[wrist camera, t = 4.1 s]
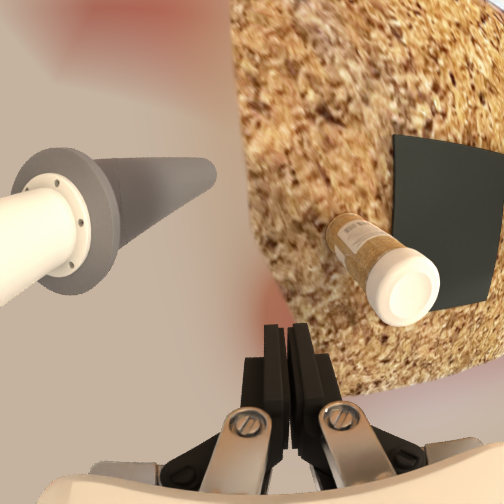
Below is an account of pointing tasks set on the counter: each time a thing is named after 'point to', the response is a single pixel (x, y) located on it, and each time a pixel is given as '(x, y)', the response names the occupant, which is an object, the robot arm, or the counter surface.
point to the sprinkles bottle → (384, 269)
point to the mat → (450, 212)
